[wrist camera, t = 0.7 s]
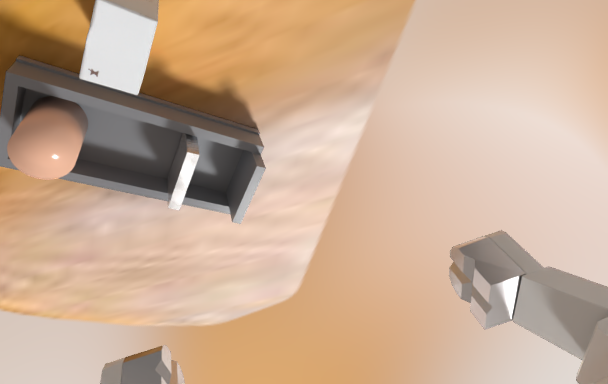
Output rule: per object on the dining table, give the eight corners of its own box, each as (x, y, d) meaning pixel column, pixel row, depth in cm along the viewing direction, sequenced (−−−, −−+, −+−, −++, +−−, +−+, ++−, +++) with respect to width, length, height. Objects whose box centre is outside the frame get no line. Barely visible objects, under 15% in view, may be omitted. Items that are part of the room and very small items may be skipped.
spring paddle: (185, 125, 45) (187, 151, 41) (196, 129, 46) (199, 155, 41) (167, 177, 48) (167, 207, 43) (178, 180, 49) (179, 210, 44)
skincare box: (144, 54, 42) (137, 99, 32) (97, 38, 40) (75, 80, 30) (161, -8, 39) (159, 21, 30) (112, -28, 37) (93, -5, 28)
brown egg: (32, 88, 40) (11, 118, 34) (92, 105, 42) (81, 136, 36) (25, 136, 42) (3, 171, 36) (82, 149, 44) (70, 185, 39)
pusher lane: (19, 55, 39) (-6, 80, 33) (258, 129, 49) (270, 158, 44) (6, 147, 43) (-18, 183, 37) (229, 198, 53) (236, 232, 48)
